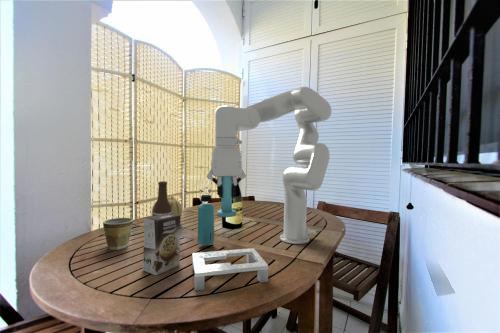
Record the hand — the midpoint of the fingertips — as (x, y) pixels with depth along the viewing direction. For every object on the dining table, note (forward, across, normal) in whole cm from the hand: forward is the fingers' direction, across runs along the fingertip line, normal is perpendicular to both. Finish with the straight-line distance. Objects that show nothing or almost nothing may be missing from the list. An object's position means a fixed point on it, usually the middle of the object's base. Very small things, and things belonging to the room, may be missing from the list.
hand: (226, 196), depth 84 cm
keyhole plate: (+21, +2, +12) cm, 25 cm away
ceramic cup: (+21, +39, -21) cm, 49 cm away
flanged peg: (+6, 0, 0) cm, 6 cm away
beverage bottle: (+21, +6, -13) cm, 26 cm away
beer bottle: (+21, +23, -28) cm, 42 cm away
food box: (+21, +21, +3) cm, 30 cm away
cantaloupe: (+21, +22, -47) cm, 56 cm away
